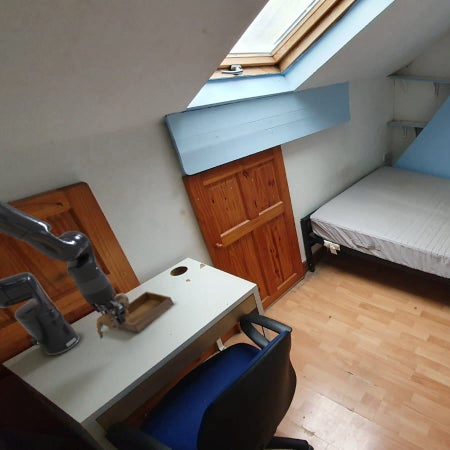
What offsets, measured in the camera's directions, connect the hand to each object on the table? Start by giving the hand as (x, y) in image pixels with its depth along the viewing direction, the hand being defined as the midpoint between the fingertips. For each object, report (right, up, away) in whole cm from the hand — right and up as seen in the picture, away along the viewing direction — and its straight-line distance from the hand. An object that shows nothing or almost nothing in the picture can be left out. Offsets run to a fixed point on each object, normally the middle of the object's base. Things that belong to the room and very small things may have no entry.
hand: (117, 321), depth 112 cm
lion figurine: (0, -1, +1) cm, 1 cm away
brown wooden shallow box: (-6, -3, +19) cm, 20 cm away
